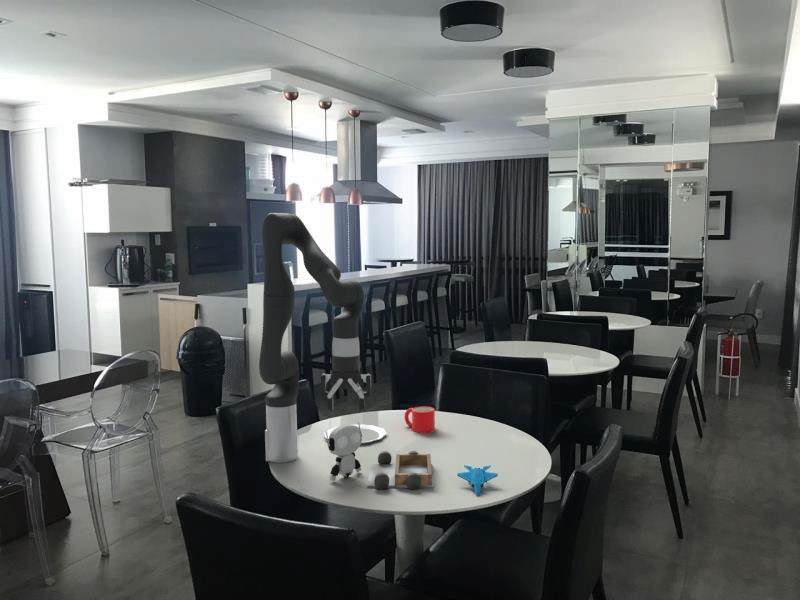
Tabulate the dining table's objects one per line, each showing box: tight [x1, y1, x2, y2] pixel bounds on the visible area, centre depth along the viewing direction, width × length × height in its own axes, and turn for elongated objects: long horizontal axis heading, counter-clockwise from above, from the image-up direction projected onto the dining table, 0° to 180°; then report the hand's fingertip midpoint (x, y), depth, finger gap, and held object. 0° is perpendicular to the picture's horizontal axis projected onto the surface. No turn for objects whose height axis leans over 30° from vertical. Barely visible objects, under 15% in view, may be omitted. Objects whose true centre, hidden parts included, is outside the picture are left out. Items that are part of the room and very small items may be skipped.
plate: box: [323, 423, 387, 445], centre depth 224 cm, size 21×21×2 cm
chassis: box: [366, 450, 435, 491], centre depth 186 cm, size 18×20×4 cm
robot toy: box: [325, 421, 363, 482], centre depth 185 cm, size 12×4×15 cm, turn 135°
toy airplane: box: [456, 464, 499, 497], centre depth 178 cm, size 12×10×4 cm
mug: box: [404, 406, 436, 434], centre depth 230 cm, size 8×12×8 cm, turn 55°
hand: (346, 410), depth 184 cm, fingers open, 7 cm apart
